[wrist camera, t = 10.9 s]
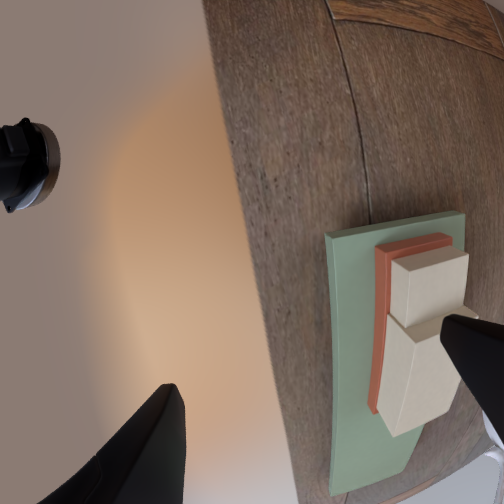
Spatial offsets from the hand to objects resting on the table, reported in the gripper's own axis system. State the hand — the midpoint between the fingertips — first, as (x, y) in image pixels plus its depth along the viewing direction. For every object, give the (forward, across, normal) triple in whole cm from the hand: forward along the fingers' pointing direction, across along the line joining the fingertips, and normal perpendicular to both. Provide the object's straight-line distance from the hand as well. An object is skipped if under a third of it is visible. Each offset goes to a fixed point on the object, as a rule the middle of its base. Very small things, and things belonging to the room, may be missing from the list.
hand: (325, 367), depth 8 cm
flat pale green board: (+11, -9, +17) cm, 22 cm away
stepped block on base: (+8, -9, +7) cm, 14 cm away
